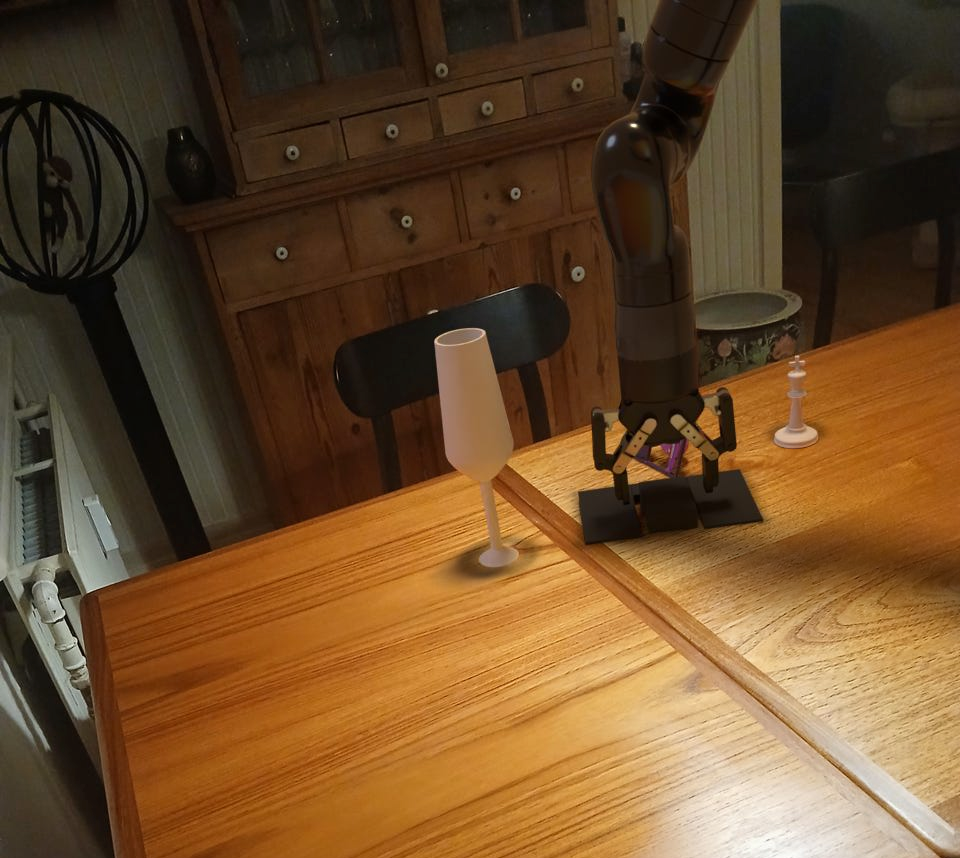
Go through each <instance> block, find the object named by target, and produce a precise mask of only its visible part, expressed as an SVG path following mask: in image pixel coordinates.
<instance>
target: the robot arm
mask: <svg viewBox="0 0 960 858" xmlns="http://www.w3.org/2000/svg"><path fill="white" fill-rule="evenodd" d="M757 1H758V0H658V3H657V5H656V8H655V10H654V13H653V16H652V18H651V21H650V25H649V26H648V28H647V31H646V35H645V38H644V40H643V41H644V42H643V45H642V49H641V55H640V59H641V64H642V67H643V70H644V71H645V72H644V75H643V77H642V81H641V84H640V87H639V90H638V93H637V97H636V99H635V102H634V104H633V106H632V108H631V110H630V112H629V114H626V115H625V116H622V117H620V118H618V119H616V120H615V121H614V120H613V122H611V123H610V124H608V125H607V126H606V127H605V128H604V129H603V131H602V132H601V133H600V134H599V136H598V138H597V140H596V142H595V145H594V148H593V150H592V155H591V156H592V158H591V166H590V167H591V168H590V169H591V170H590V175H591V177H590V178H591V188H592V195H593V198H594V202H595V206H596V210H597V213H598V216H599V220H600V223H601V227H602V231H603V234H604V237H605V240H606V243H607V245H608V248H609V250H610V254H611V268H612V280H613V294H614V306H615V307H614V308H615V309H614V332H615V347H616V355H617V356H616V357H617V365H618V366H617V367H618V377H619V388H620V403H619V405H618V407H616V408H607V409H603V408H602V407H601V406H598V405H597V406H596V405H595V406H594V407H592V408H591V410H590V425H591V446H592V447H591V448H592V459H593V466H594V468H595V470H596V471H599V472H602V471H609V472H610V473H612V480H613V487H614V491H615V495H616V498H617V500H618V501H619V500H622V501H623V505H628V504H630V497H629V486H628V485H629V477H628V470H627V467H628V465H629V464H630V462H631V461H632V459H635V458H634V457H635V456H636V455H637V453H638V452H639V450H640V449H641V447H642V445H646V446H648V447H649V448H650V447H652V448H656V447H659V446H660V445H661V444H677V443H680V441H681V440H683V439H684V438H685V437H686V438H687V439H688V440H689V443H690V444H691V445H692V446H693V447H694V448H696V449H697V450H698V451H700V452H701V470H702V471H701V473H702V475H703V487H704V490H705V492H706V493H711V492H713V487H716V486H718V483H719V472H720V471H719V470H720V469H719V460H720V457H721V456H722V455H723V454H725V453H727V452H728V453H731V452H735V451H736V449H737V448H738V445H737V444H738V442H737V433H736V422H735V421H736V420H735V409H734V400H733V397H732V396H731V393H730V391H729V390H728V388H727V387H725V386H720V387H719V388H717V390H716V391H715V392H713V393H708V394H703V395H702V394H701V392H700V387H699V367H698V365H699V364H698V349H697V348H698V345H697V338H698V329H697V321H696V312H695V306H694V301H693V293H692V278H691V257H690V255H691V254H690V245H689V241H688V237H687V234H686V232H685V230H683V229H682V227H680V226H678V225H676V224H675V221H674V213H673V209H672V202H671V188H673V187H675V186H676V185H677V184H678V183H679V182H681V180H682V179H683V178H684V177H685V175H686V174H687V172H688V171H689V169H690V168H691V166H692V165H693V162H694V160H695V159H696V156H697V154H698V151H699V149H700V147H701V144H702V141H703V139H704V135H705V133H706V130H707V127H708V123H709V120H710V117H711V113H712V111H713V107H714V104H715V99H716V96H717V93H718V88H719V84H720V82H721V80H722V78H723V76H724V74H725V72H726V70H727V68H728V67H729V64H730V62H731V60H732V58H733V55H734V53H735V51H736V49H737V46H738V45H739V42H740V40H741V38H742V35H743V34H744V31H745V29H746V27H747V25H748V22H749V19H750V17H751V15H752V13H753V11H754V8H755V6H756V3H757ZM705 408H707V409H710V412H711V413H712V415H713V416H715V417H717V419H718V420H717V421H718V428H719V430H718V431H719V436H717V437H716V438H713V439H712V438H711V437H710V436H709V435H708V434H707V433H706V432H705V431H704V430H703V429H702V427H701V426H700V425H699V424H698V423H697V421H698V420H699V418H700V417H701V415H702V414H703V412H704V410H705ZM617 421H619V423H620V424H621V425H622V426H623V427H624V428H625V429H626V431H625V432H624V433H623V435H622V437H621V439H620V442H619V444H618V446H617V447H616V449H615V450H614V452H613V453H612V454H611V453H607V444H606V443H607V442H606V440H607V439H606V433H610V432H611V431H612V430H613V426H614V424H615V423H616V422H617Z"/></svg>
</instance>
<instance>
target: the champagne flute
mask: <svg viewBox="0 0 960 858" xmlns="http://www.w3.org/2000/svg"><path fill="white" fill-rule="evenodd" d="M433 343H434V352H435V363H436V372H437V382H438V383H437V384H438V392H439V403H440V413H441V422H442V433H443V443H444V444H443V445H444V452H445V457H446V459H447V461H448V462H449V464H450V465H451V466H452V467H453V468H454V469H455V470H457V471H458V472H459V473H460V474H462V475H464V476H466V477H468V478H469V479H471V480H473V481H476V482H479V486H480V492H481V498H482V503H483V509H484V515H485V519H486V525H487V531H488V535H489V536H488V537H489V542H490V548H489V549H487V550H485V551H484V552H483V553H482V554H480V556H479V558H478V562H479V564H481V565H482V566H484V567H486V568H487V567H488V568H501V567H505V566H508V565H511V564H512V563H514V562H515V561H516V560H517V559H518V558H519V555H520V554H519V551H518V550H517V549H516V548H514V547H511V546H505V545H503V539H502V534H501V529H500V523H499V516H498V511H497V504H496V500H495V494H494V488H493V483H492V479H494V478H496V477H497V475H499V473H500V472H501V471H502V470H503V469H504V467H505V466H506V464H508V462H509V460H510V459H511V456H512V454H513V450H514V447H515V442H514V438H513V434H512V430H511V427H510V421H509V419H508V414H507V411H506V407H505V402H504V399H503V394H502V391H501V388H500V383H499V379H498V375H497V372H496V368H495V364H494V360H493V356H492V351H491V349H490V344H489V340H488V337H487V332H486V330H484V329H482V328H476V327H469V328H468V327H467V328H459V329H454V330H450V331H447V332H445V333H442V334H440V335H439V336H437V337H435V339H434V342H433Z"/></svg>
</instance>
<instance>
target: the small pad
mask: <svg viewBox="0 0 960 858" xmlns="http://www.w3.org/2000/svg"><path fill="white" fill-rule="evenodd" d="M686 477H687V476H686V475H680V476H678V477H666V478H660V479H659V478H658V479H651V480H645V481H639V482H638V483H639V490H640V508H641V512H642V516H643V517H644V520H645V524H646V528H647V532H648V534H649V535H654V534H662V533H668V532H677V531H683V530H690V529H691V530H692V529H698V528H699V522H698V521H699V518H698V517H699V514H698V511H697V507H696V504H695V502H694V499H693V496H692V493H691V490H690V488H689V485H688V482H687V479H686Z"/></svg>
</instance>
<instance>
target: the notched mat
mask: <svg viewBox="0 0 960 858" xmlns="http://www.w3.org/2000/svg"><path fill="white" fill-rule="evenodd" d="M686 479H687V482H688V485H689V488H690V490H691V493H692V496H693V499H694V502H695V504H696V507H697V515H698V517H699V519H700V522H701V525H702V528H703V529H704V530H709V529H717V528H724V527H732V526H741V525H748V524H755V523H761V522H764V518H763V516H762V514H761V512H760V510H759V508H758V505H757V503H756V502H755V499H754V497H753V494H752V492H751V489H750V488H749V486H748V484H747V481H746V480H745V478H744V475H743V473H742V470H741V469H740V468H736V469H730V470H723V471H719V483H718V486H716V487H713V492H711V493H706V492H705V490H704V487H703V475H702V474H701V473H700V474H694V475H687V476H686ZM628 486H629V497H630V504H628V505H623V501H622V500H619V501H618V500H617V498H616V495H615V491H614V486H607V487H600V488H594V489H586V490H579V491H577V495H578V503H579V504H578V505H579V511H580V518H581V525H582V531H583V540H584V545H585V546H589V545H590V546H591V545H597V544H598V545H599V544H605V543H610V542H611V543H613V542H621V541H626V540H635V539H636V540H637V539H642V538H643V537H644V536H643V531H642V527H641V523H640V520H639V514H638V510H637V506H636V505H639V504H640V505H641V503H640V490H639V482H637V483H628Z"/></svg>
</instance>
